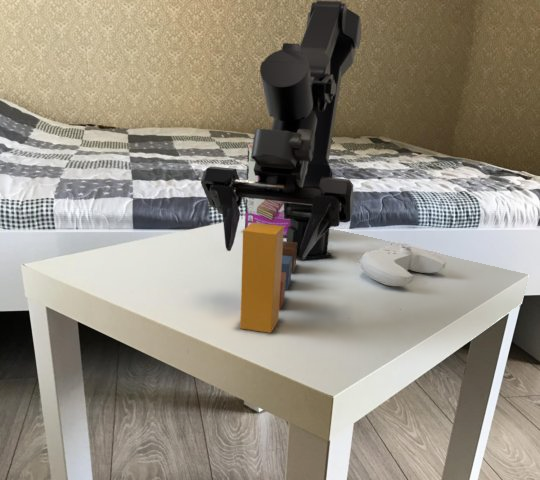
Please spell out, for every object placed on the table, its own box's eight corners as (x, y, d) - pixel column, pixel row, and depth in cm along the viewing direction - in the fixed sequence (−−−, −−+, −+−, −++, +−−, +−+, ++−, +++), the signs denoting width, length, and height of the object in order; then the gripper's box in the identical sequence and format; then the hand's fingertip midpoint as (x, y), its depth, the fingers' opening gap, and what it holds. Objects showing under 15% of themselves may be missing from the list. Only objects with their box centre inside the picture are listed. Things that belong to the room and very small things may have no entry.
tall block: (248, 316, 76) (252, 222, 70) (278, 321, 75) (284, 225, 69) (240, 328, 72) (242, 230, 67) (270, 333, 72) (276, 234, 66)
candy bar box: (243, 232, 113) (246, 143, 105) (252, 226, 117) (255, 141, 110) (298, 240, 110) (304, 149, 102) (305, 233, 114) (312, 146, 107)
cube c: (256, 296, 83) (257, 269, 81) (284, 299, 82) (286, 272, 80) (252, 306, 79) (253, 278, 77) (280, 309, 79) (282, 281, 77)
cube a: (272, 263, 96) (273, 240, 94) (296, 265, 96) (297, 242, 94) (268, 271, 93) (270, 246, 91) (293, 273, 92) (295, 249, 90)
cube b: (265, 278, 89) (266, 253, 88) (290, 281, 89) (292, 256, 87) (261, 287, 86) (262, 261, 84) (287, 290, 85) (289, 264, 84)
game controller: (406, 275, 84) (354, 245, 89) (396, 300, 87) (346, 270, 92) (454, 257, 94) (404, 231, 99) (444, 280, 96) (396, 254, 101)
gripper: (205, 95, 69) (172, 208, 64) (362, 106, 65) (338, 227, 61) (225, 156, 79) (197, 256, 75) (360, 168, 75) (340, 275, 71)
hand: (263, 253), depth 70 cm, fingers open, 9 cm apart
